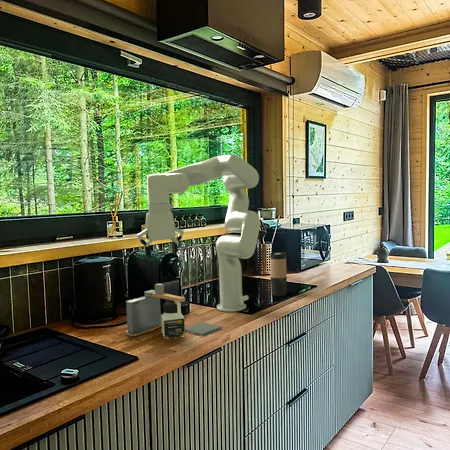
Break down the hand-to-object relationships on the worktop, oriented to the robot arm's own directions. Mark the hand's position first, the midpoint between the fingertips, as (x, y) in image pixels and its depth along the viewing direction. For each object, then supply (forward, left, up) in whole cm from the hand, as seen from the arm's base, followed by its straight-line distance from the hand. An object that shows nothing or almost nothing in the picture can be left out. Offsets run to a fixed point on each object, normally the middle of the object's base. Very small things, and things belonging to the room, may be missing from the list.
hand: (162, 255), depth 154 cm
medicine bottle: (+2, +7, -28) cm, 29 cm away
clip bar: (+1, +2, -15) cm, 15 cm away
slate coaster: (-8, +11, -28) cm, 31 cm away
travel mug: (-69, +4, -28) cm, 74 cm away
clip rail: (+5, -6, -28) cm, 28 cm away
